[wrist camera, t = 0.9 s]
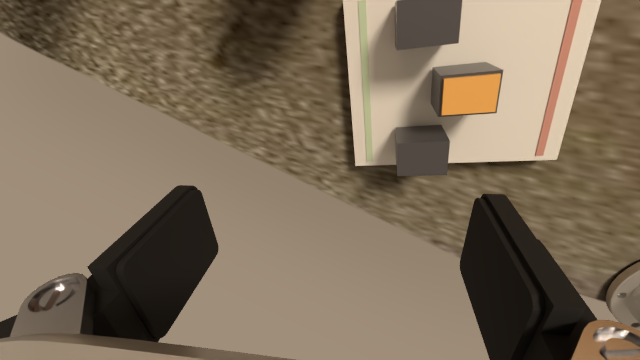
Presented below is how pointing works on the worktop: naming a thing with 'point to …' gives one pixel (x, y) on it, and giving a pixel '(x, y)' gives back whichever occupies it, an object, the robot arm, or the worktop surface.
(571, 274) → the worktop surface
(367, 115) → the breaker panel
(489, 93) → the block
